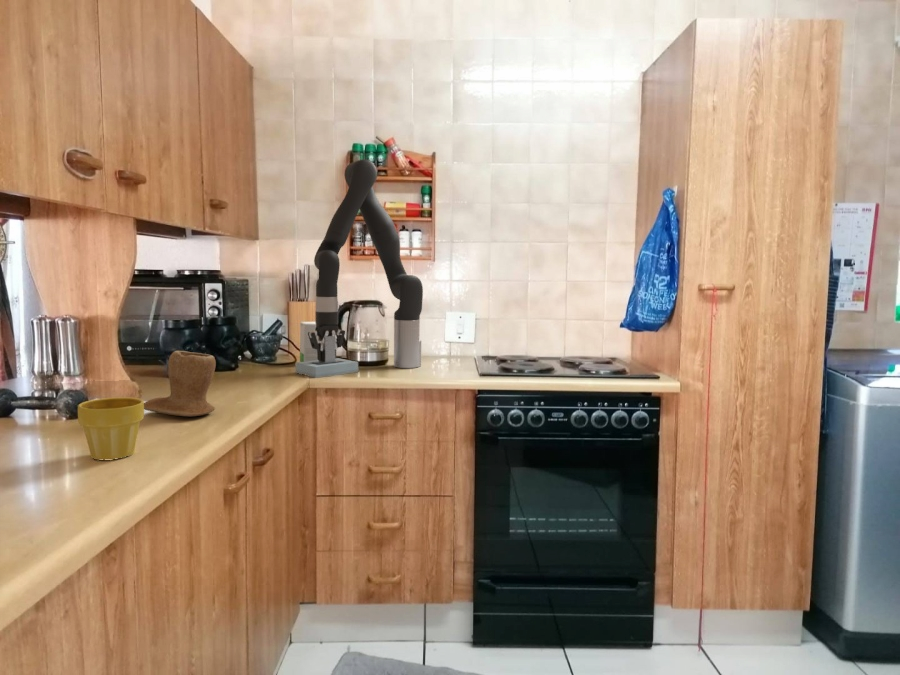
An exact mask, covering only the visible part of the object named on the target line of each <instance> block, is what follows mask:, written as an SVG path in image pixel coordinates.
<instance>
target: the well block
mask: <svg viewBox="0 0 900 675" xmlns="http://www.w3.org/2000/svg"><path fill="white" fill-rule="evenodd" d="M335 360H339V361H341V362H339V363H331V364H323V365H316V364H312V362H319V360H315V361H306V362H300V361H299V362H295V363H294V365H295V372H294V373H295V374H297V373H299V375H302V374H306V375H309V376H308V377H311V378H315V379H316V378H322V377H324V378H325V377H331V376H338V375H345V374H354V373H358V372H359V362H358V361H356V360H355V361H354V360H349V359H344V358H339V357H336V359H335ZM306 375H305V376H306Z"/></svg>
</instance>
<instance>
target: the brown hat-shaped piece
mask: <svg viewBox="0 0 900 675" xmlns="http://www.w3.org/2000/svg"><path fill="white" fill-rule="evenodd" d="M167 363H168V364H167V369H168V370H167V373H168V376H167V377H168V380H169V386H170V395H169V396H165V397H164V396H163V397H161V396H160V397H155V398H151V399H148V400H147V401H144V411H149V412H153V413H158V414H164V415H170V416H178V417H197V416H204V415H207V414H211V413H212V412H214V411H215V410H216V409H215V406H214V405H212V404H210V403H209V402H208V400H207V393H208V390H209V389H210V385H211V383H212V382H213V381H212V380H213V377H214V374H215V370H216V365H217V362H216V359H215V356H214V355H211V354H206V353H201V352H190V351H186V350H175V351H173V352H172V353H171V354H170V356H169V358H168V362H167Z"/></svg>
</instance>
